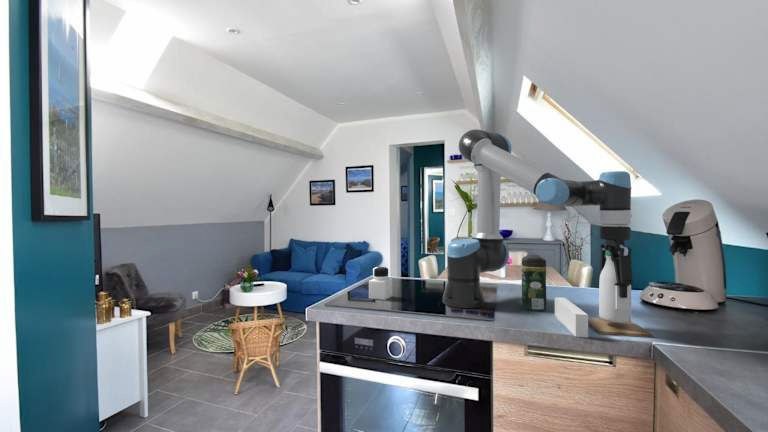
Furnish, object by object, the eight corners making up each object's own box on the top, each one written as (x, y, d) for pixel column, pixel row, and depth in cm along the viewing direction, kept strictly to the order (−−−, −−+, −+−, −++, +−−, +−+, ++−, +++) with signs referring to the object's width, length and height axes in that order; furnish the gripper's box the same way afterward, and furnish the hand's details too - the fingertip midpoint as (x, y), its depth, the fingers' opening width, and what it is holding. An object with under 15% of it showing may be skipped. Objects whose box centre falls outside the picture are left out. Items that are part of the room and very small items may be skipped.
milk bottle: (635, 325, 95) (635, 251, 95) (602, 322, 98) (602, 250, 98) (626, 317, 102) (626, 249, 102) (596, 314, 105) (596, 248, 105)
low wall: (575, 336, 93) (575, 314, 93) (554, 315, 113) (554, 297, 113) (588, 337, 92) (588, 314, 92) (564, 316, 112) (564, 297, 112)
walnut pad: (599, 334, 95) (599, 331, 95) (582, 320, 108) (582, 317, 108) (653, 337, 92) (653, 334, 92) (629, 322, 105) (629, 320, 105)
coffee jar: (520, 303, 128) (520, 253, 128) (544, 305, 126) (544, 254, 126) (522, 310, 119) (522, 256, 119) (548, 312, 116) (547, 257, 117)
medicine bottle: (392, 296, 140) (392, 266, 140) (385, 300, 134) (385, 269, 134) (376, 294, 143) (376, 265, 143) (368, 298, 137) (368, 268, 137)
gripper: (649, 226, 89) (649, 316, 89) (613, 224, 109) (613, 297, 109) (616, 226, 91) (616, 314, 91) (587, 224, 111) (587, 296, 111)
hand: (614, 305), depth 100 cm, fingers closed on milk bottle, 8 cm apart
